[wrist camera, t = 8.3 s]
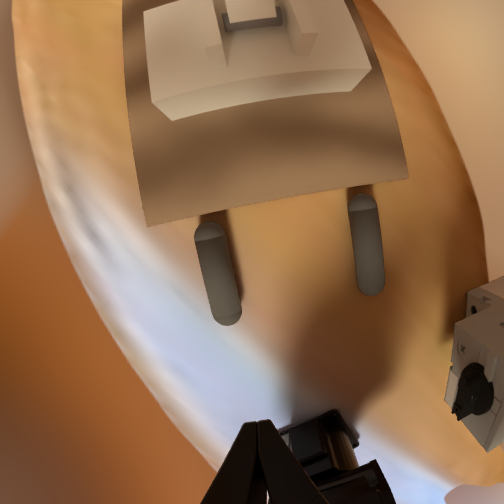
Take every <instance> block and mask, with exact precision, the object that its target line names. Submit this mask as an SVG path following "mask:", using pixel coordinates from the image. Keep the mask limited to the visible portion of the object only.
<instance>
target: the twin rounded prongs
mask: <svg viewBox="0 0 504 504" xmlns="http://www.w3.org/2000/svg"><path fill="white" fill-rule="evenodd" d="M348 215H349V221H350V228H351V235H352V242H353V250H354V258H355V267H356V276H357V285H358V288H359V290H360V291H361V292H362V293H363V294H365V295H368V296H374V295H377V294H379V293H380V292H381V291H382V290H383V288H384V285H385V271H384V259H383V249H382V239H381V231H380V223H379V216H378V209H377V204H376V202H375V200H374V199H373V198H372V197H371V196H370V195H368V194H365V193H359V194H356V195H354V196H353V197H352V198H351V199H350V201H349V203H348ZM194 240H195V245H196V249H197V254H198V258H199V262H200V267H201V271H202V275H203V279H204V283H205V287H206V291H207V295H208V299H209V303H210V307H211V311H212V315H213V317H214V319H215V320H216V321H217V322H218V323H219V324H221V325H225V326H229V325H233V324H235V323H236V322H237V321H238V320H239V319H240V317H241V314H242V307H241V303H240V298H239V294H238V289H237V285H236V280H235V276H234V271H233V267H232V262H231V257H230V253H229V248H228V243H227V238H226V234H225V231H224V229H223V227H222V226H221V225H219V224H218V223H216V222H212V221H208V222H204V223H202V224H201V225H199V226H198V228H197V229H196V231H195V234H194Z"/></svg>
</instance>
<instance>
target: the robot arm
mask: <svg viewBox="0 0 504 504" xmlns="http://www.w3.org/2000/svg"><path fill="white" fill-rule="evenodd" d="M334 414H336V415H334ZM358 446H359V441H358V439H357V438H356V436H355V435H354V433H353V432H352V430H351V429H350V427H349V426H348V424H347V423H346V421H345V420H344V418H343V417H342V415H341V414H340V412H339V411H338V410H336V409H335V410H331V411H329V412H327V413H325V414H323V415H321V416H319V417H317V418H315V419H313V420H310V421H308V422H306V423H304V424H302V425H299V426H297V427H295V428H292V429H290V430H288V431H285V432H283V433H280V434H279V432H278V431H277V429H276V428H275V426H274V424H273V423H272V421H271V420H269V419H267V420H260V421H258V422H256V421H253V422H246V423H244V424H243V425H242V427H241V429H240V431H239V433H238V435H237V437H236V439H235V441H234V443H233V445H232V447H231V449H230V451H229V452H228V454H227V456H226V458H225V460H224V462H223V464H222V466H221V467H220V469H219V471H218V473H217V475H216V477H215V478H214V480H213V482H212V484H211V486H210V487H209V489H208V491H207V493H206V494H205V496H204V498H203V500H202V502H201V503H200V504H267V491H268V495H269V500H268V504H396V502H395V499H394V497H393V494H392V492H391V489H390V487H389V485H388V483H387V481H386V479H385V477H384V475H383V473H382V471H381V469H380V467H379V465H378V463H377V461H376V459H375V460H372V461H370V463H367V464H365V465H362V466H360V467H359V465H358V462H357V459H356V456H355V453H354V450H353V449H354V448H356V447H358Z"/></svg>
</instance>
